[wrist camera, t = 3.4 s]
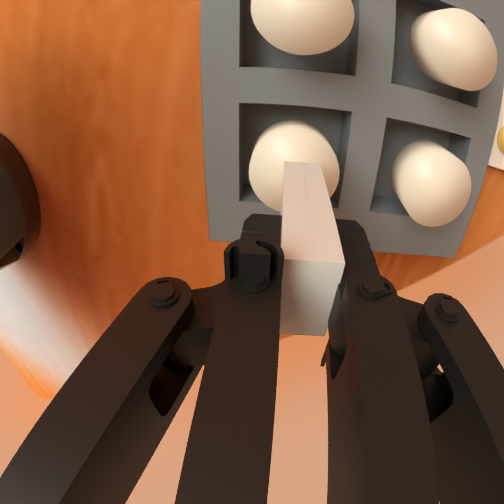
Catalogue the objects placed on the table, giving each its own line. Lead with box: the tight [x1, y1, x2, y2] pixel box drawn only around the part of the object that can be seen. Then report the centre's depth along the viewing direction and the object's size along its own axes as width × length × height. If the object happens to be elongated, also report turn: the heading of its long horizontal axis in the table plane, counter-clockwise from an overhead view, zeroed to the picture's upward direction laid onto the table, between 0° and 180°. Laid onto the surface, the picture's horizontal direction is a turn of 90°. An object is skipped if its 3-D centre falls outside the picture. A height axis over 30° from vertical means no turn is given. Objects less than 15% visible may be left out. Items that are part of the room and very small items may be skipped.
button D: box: [409, 8, 498, 91], centre depth 10 cm, size 4×4×2 cm
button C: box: [390, 140, 471, 227], centre depth 15 cm, size 4×4×2 cm
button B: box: [251, 0, 354, 55], centre depth 10 cm, size 4×4×2 cm
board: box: [201, 0, 504, 258], centre depth 14 cm, size 28×20×3 cm
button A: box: [249, 120, 340, 212], centre depth 15 cm, size 4×4×2 cm
